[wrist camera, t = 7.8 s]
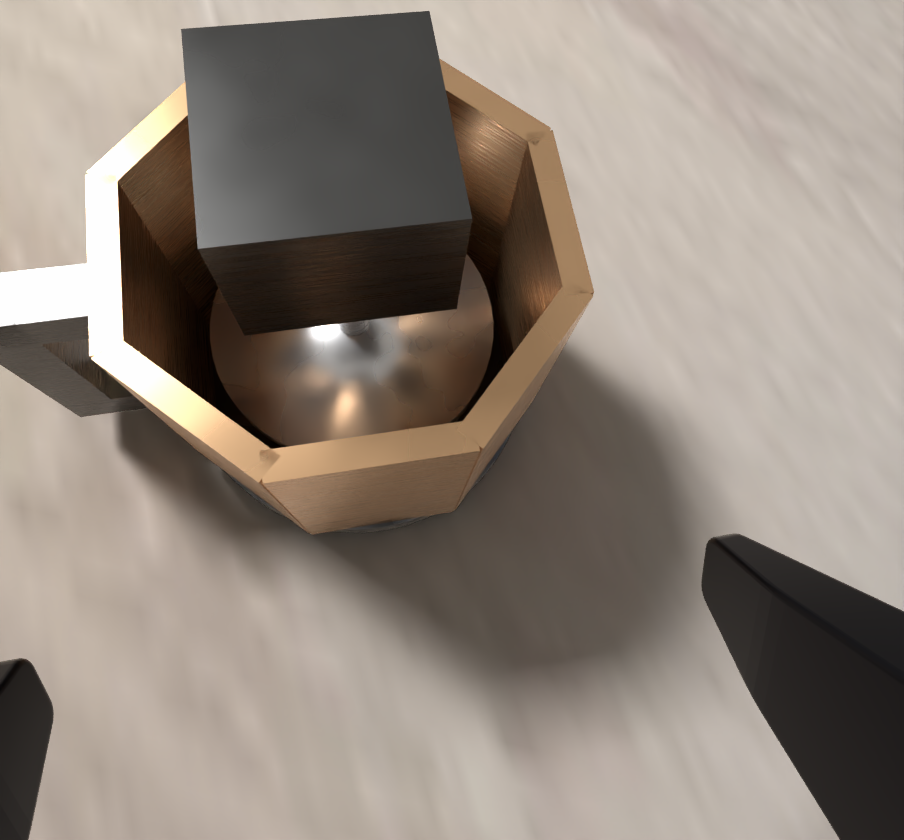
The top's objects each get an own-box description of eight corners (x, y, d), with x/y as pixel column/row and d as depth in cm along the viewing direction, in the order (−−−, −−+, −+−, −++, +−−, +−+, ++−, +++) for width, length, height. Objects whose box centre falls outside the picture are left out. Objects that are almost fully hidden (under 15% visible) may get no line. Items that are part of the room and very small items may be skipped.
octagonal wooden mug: (550, 503, 20) (635, 432, 13) (99, 576, 18) (-98, 543, 11) (488, 216, 23) (529, 22, 15) (92, 260, 21) (-71, 68, 14)
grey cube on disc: (514, 442, 17) (599, 301, 10) (227, 485, 16) (83, 367, 9) (464, 201, 19) (504, -67, 12) (206, 229, 18) (74, -40, 11)
